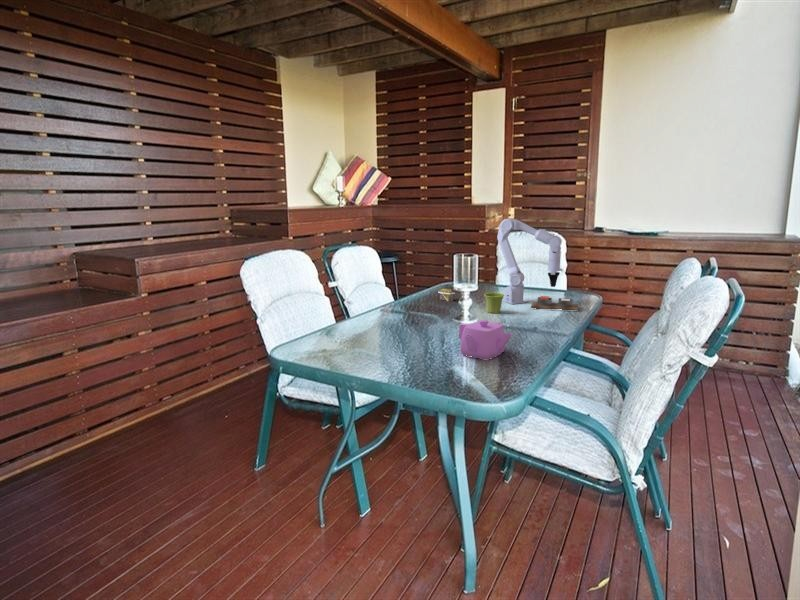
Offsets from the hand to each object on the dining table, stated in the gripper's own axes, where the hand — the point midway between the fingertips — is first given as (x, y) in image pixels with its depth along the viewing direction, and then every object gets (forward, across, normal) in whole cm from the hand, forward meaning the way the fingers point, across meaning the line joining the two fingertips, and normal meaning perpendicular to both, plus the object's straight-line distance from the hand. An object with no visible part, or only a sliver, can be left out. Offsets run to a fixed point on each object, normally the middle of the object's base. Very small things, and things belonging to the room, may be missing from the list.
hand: (553, 286), depth 257 cm
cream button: (+8, -7, -7) cm, 13 cm away
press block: (+10, -8, -2) cm, 12 cm away
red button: (+7, -8, +3) cm, 11 cm away
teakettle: (+10, -91, +18) cm, 94 cm away
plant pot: (+10, -26, +26) cm, 38 cm away
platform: (+10, -7, +55) cm, 56 cm away
